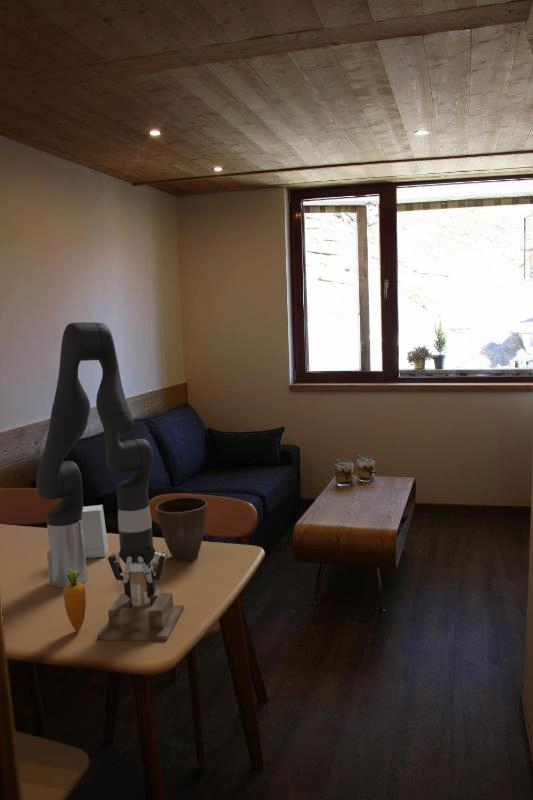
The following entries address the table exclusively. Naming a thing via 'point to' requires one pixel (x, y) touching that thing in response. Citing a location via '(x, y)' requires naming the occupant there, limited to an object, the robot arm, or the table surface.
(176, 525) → the plant pot
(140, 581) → the sprinkles bottle
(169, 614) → the socket block
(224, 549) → the table surface
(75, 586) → the carrot
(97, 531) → the skincare box
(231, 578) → the table surface
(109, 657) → the table surface
